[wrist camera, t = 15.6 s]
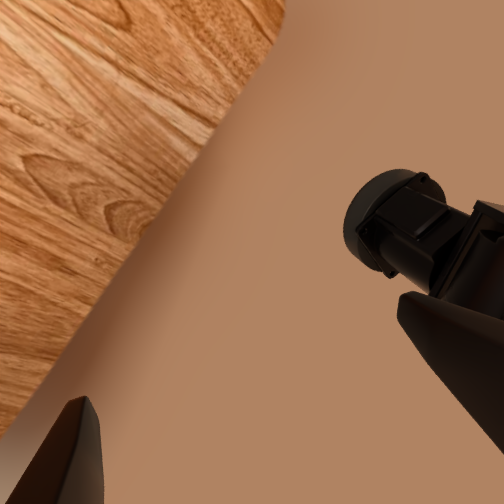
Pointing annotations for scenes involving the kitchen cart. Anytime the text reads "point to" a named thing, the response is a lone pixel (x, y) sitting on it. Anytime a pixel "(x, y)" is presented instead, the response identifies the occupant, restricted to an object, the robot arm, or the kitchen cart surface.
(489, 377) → the robot arm
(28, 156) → the kitchen cart surface
